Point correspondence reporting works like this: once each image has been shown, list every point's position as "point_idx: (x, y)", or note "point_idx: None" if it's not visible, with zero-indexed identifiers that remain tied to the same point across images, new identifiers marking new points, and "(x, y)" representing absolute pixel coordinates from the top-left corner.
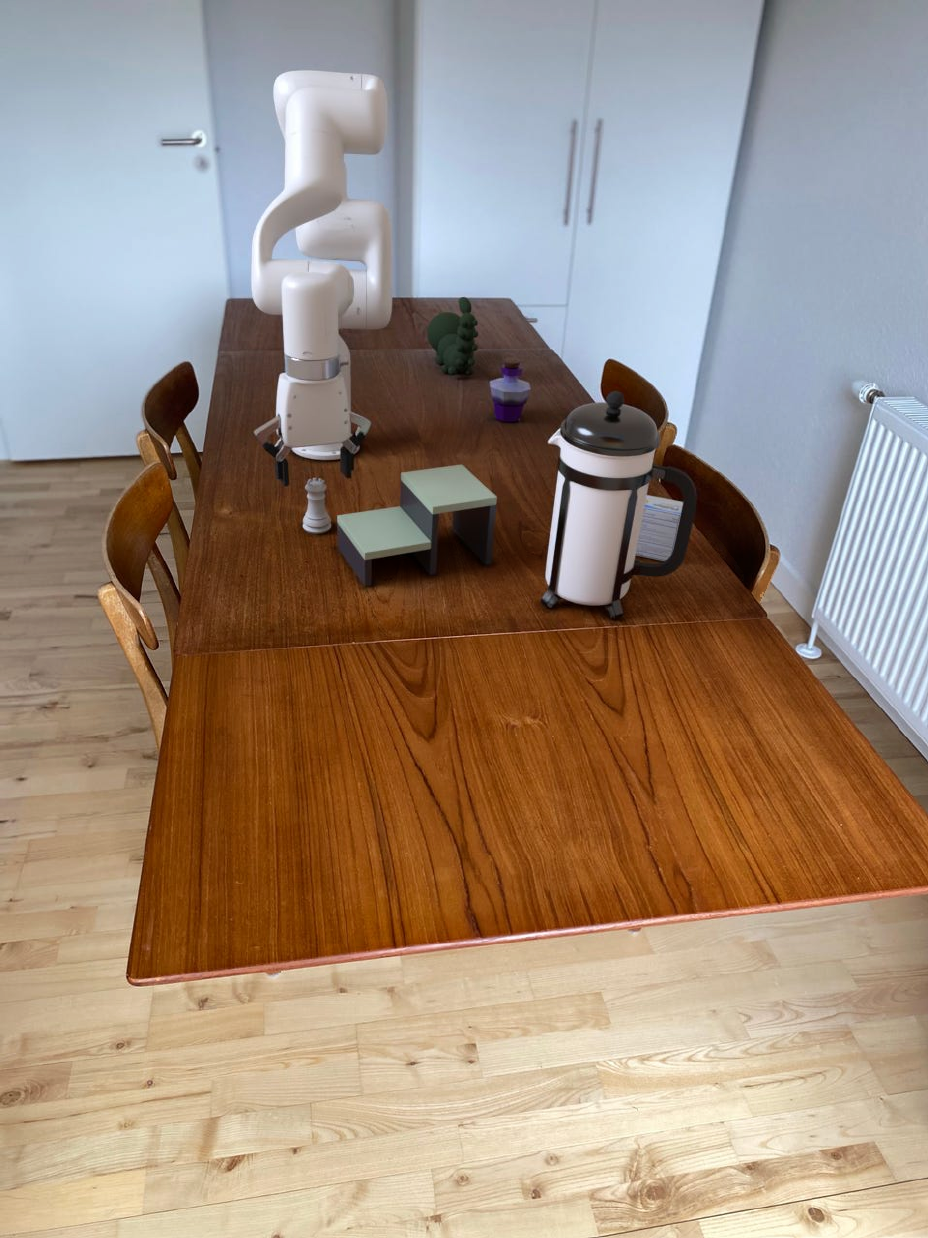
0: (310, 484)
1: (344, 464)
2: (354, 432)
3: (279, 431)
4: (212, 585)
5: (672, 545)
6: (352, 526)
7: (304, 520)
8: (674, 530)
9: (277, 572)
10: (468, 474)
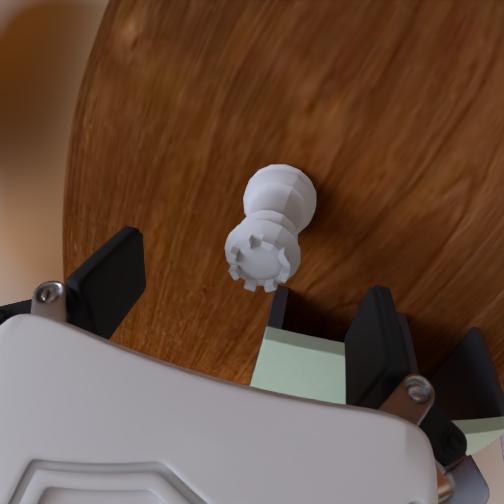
0: (231, 274)
1: (355, 355)
2: (439, 453)
3: (5, 325)
4: (78, 267)
5: (500, 438)
6: (267, 376)
7: (244, 201)
8: (502, 450)
9: (154, 289)
10: (477, 450)
